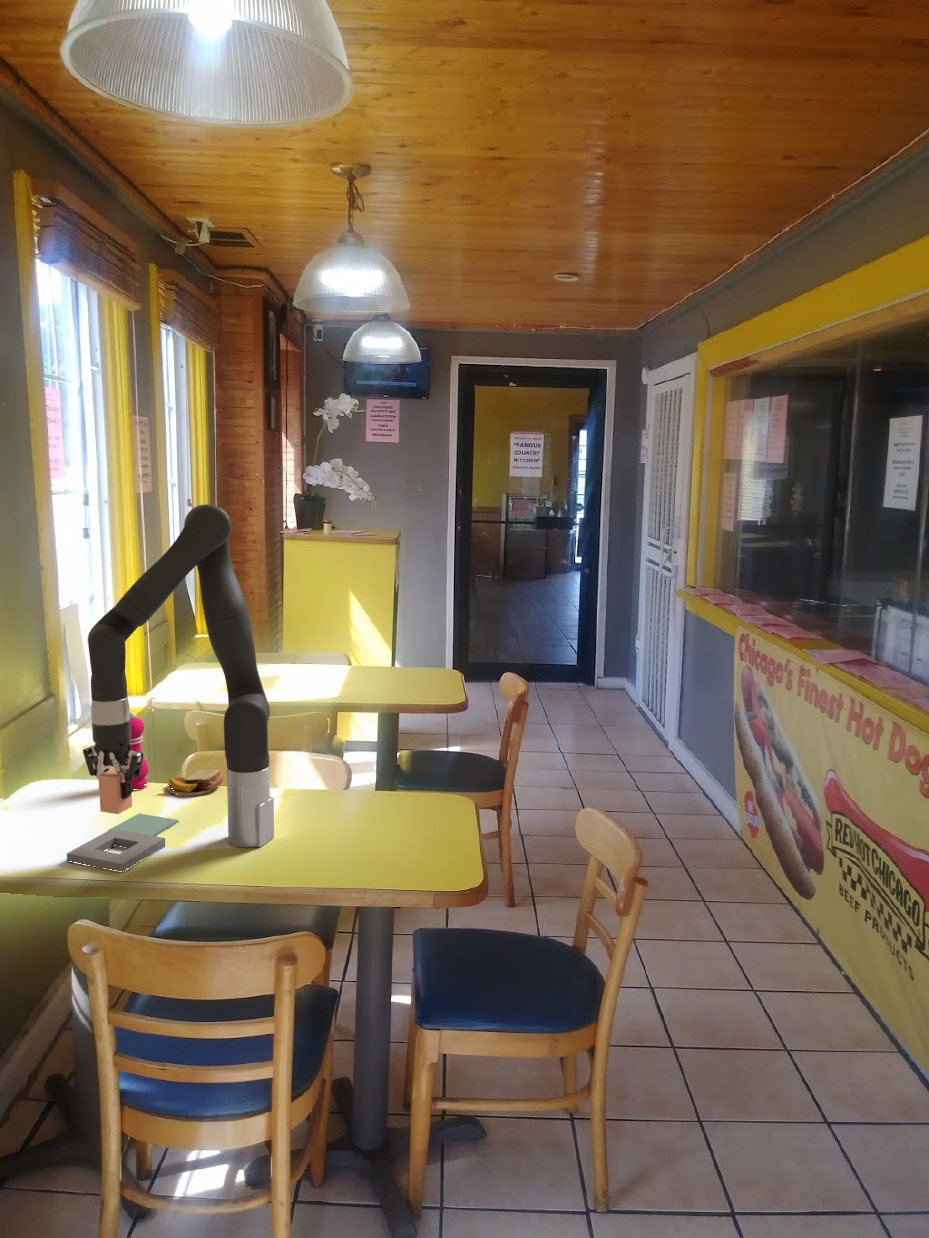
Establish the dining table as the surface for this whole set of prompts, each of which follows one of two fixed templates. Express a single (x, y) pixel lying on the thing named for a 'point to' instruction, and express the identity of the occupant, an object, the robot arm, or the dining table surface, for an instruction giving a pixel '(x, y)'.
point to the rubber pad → (146, 824)
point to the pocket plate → (97, 857)
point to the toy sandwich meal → (196, 783)
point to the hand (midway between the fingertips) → (115, 796)
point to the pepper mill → (137, 750)
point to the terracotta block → (112, 793)
